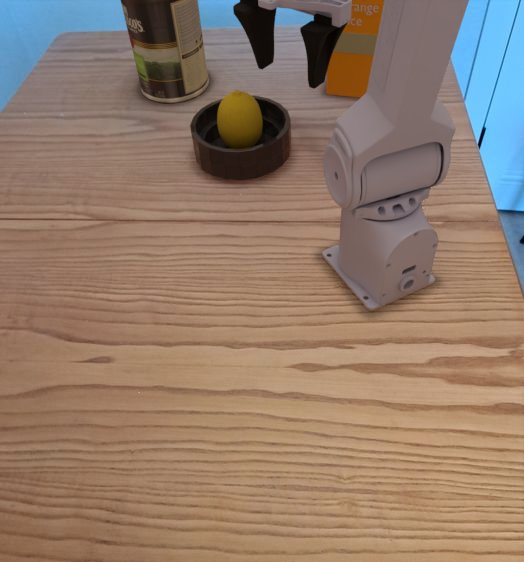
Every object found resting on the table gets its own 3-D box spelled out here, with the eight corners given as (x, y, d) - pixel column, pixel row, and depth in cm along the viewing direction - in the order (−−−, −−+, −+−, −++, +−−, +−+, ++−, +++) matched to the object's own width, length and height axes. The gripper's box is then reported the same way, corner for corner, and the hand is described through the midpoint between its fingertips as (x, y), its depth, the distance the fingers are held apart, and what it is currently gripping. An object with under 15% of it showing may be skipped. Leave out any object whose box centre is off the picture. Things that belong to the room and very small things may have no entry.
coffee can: (153, 111, 81) (129, 3, 70) (132, 79, 87) (106, -26, 76) (220, 91, 83) (207, -17, 72) (195, 61, 89) (179, -44, 78)
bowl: (308, 163, 72) (308, 130, 68) (220, 195, 69) (215, 163, 65) (263, 117, 78) (261, 85, 75) (181, 145, 76) (175, 113, 72)
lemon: (266, 138, 74) (262, 78, 68) (262, 164, 71) (257, 103, 65) (224, 138, 75) (216, 78, 69) (218, 164, 72) (209, 103, 65)
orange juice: (325, 94, 81) (329, -75, 65) (338, 63, 86) (346, -100, 70) (380, 99, 79) (399, -72, 63) (391, 68, 84) (410, -99, 68)
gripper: (205, -64, 57) (221, 71, 68) (322, -34, 51) (319, 109, 62) (252, -86, 60) (260, 47, 71) (368, -60, 54) (357, 81, 65)
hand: (290, 74), depth 66 cm, fingers open, 7 cm apart
